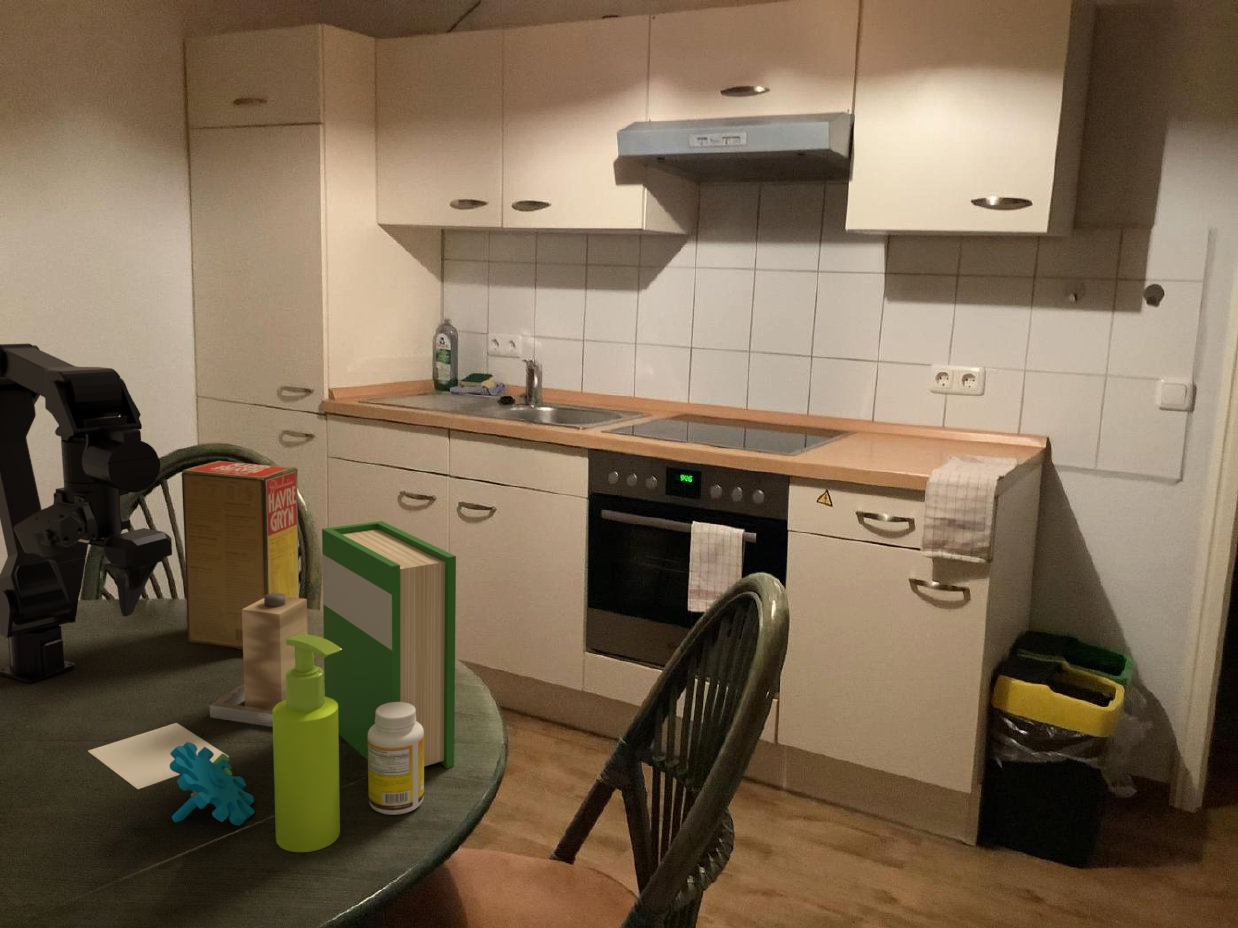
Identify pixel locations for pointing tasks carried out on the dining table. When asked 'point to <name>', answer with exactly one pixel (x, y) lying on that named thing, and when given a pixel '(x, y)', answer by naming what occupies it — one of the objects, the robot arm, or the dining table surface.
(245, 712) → the pocket
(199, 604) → the food packaging
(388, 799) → the supplement bottle
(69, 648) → the dining table surface
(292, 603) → the block
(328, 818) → the soap dispenser
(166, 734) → the beige flat slab
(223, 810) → the gear
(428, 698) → the hardback book
